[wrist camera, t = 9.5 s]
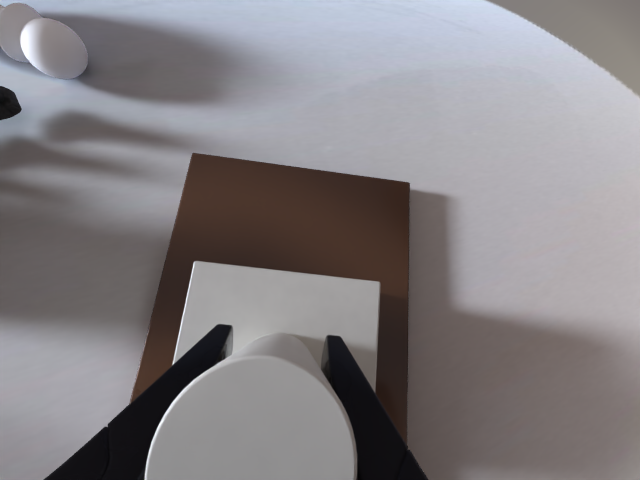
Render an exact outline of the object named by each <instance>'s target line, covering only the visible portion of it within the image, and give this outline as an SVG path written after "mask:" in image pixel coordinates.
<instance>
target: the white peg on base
mask: <svg viewBox="0 0 640 480" xmlns="http://www.w3.org/2000/svg"><path fill="white" fill-rule="evenodd" d="M380 286H381V284H380V282H377V281H369V280H360V279H351V278H342V277H333V276H325V275H316V274H307V273H298V272H290V271H281V270H272V269H263V268H254V267H246V266H237V265H228V264H219V263H211V262H202V261H195V262H194V264H193V269H192V273H191V278H190V283H189V288H188V293H187V297H186V302H185V307H184V312H183V317H182V321H181V326H180V331H179V336H178V340H177V345H176V350H175V355H174V360H173V364H174V363H175V362H176V361H177V360H179V359H180V358H181V357H182V356H183V355H184V354H185V353H186V352H187V351H188V350H190V349H191V348H192V347H193V346H194V345H195V344H196V343H197V342H198V341H199V340H201V339H202V338H203V337H204V336H205V335H206V334H207V333H208V332H209V331H210V330H211V329H213V328H214V327H215V326H216V325H217V324H227V325H232V326H233V351H232V355H231V356H229V357H227V358H226V359H224V360H223V361H221V362H219V363H218V364H216V365H215V366H213V367H211V368H210V369H208V370H207V371H205V372H204V373H202V374H201V375H200V376H198V377H197V378H195V379H194V380H193V381H192V382H191V383H190V384H189V385H188V386H186V387H185V388H184V389H183V390H182V392H181V393H180V394H179V395H178V396H177V397H176V398H175V400H174V401H173V402H172V404H171V405H170V407H169V408H168V410H167V411H166V412H165V414H164V416H163V418H162V420H161V422H160V423H159V425H158V427H157V430H156V432H155V435H154V437H153V440H152V442H151V446H150V450H149V453H148V457H147V463H146V470H145V480H356V478H357V451H356V442H355V438H354V433H353V429H352V426H351V423H350V420H349V417H348V415H347V413H346V411H345V409H344V407H343V405H342V403H341V401H340V399H339V398H338V396H337V395H336V393H335V391H334V390H333V388H332V387H331V385H330V383H329V382H328V380H327V379H326V377H325V375H324V374H323V372H322V371H321V359H322V353H323V348H324V343H325V338H326V336H327V335H337V336H340V337H341V338H342V339H343V341H344V342H345V344H346V346H347V347H348V349H349V351H350V352H351V354H352V356H353V357H354V359H355V360H356V362H357V364H358V365H359V367H360V369H361V370H362V372H363V374H364V375H365V377H366V379H367V380H368V382H369V383H370V385H371V387H372V388H373V390H374V392H375V388H376V368H377V347H378V327H379V306H380ZM173 364H172V365H173Z"/></svg>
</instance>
